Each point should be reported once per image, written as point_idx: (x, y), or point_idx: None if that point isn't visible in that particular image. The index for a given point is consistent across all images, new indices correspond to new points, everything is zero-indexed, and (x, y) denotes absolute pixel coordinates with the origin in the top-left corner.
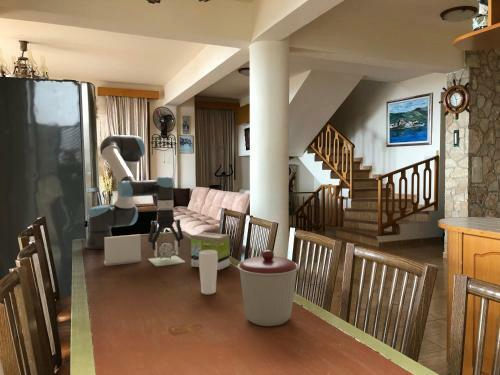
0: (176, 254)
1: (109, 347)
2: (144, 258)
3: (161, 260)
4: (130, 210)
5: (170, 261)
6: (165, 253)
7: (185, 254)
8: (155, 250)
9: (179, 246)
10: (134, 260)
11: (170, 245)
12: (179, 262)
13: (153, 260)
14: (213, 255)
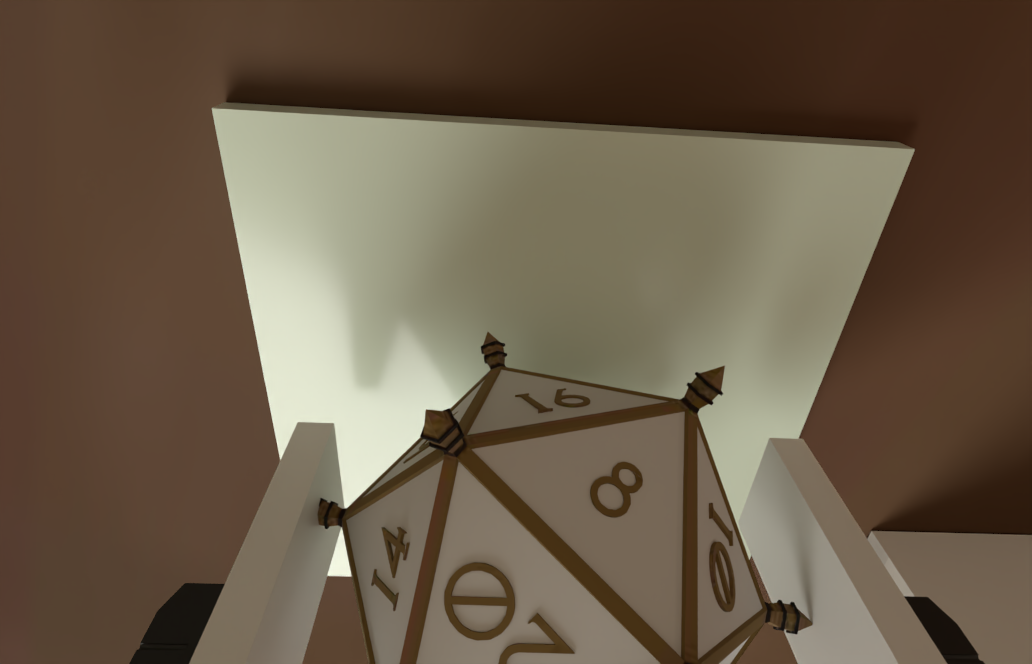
0: (333, 427)
1: None
2: None
3: None
4: None
5: (515, 284)
6: (652, 405)
7: (141, 605)
8: (873, 571)
9: (171, 602)
10: (985, 560)
11: (466, 640)
12: (358, 115)
13: (732, 481)
14: None
